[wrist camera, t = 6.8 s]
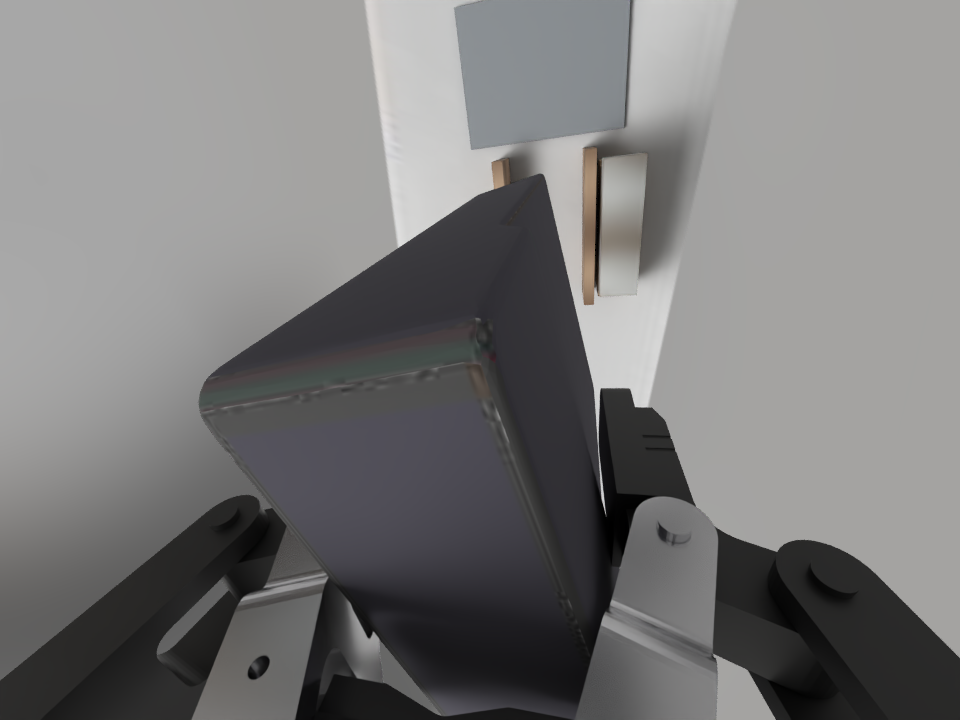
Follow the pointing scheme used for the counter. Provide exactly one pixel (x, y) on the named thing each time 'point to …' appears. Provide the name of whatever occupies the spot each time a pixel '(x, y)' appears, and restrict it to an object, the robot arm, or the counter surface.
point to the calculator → (443, 455)
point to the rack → (589, 214)
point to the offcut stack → (619, 223)
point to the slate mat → (542, 68)
